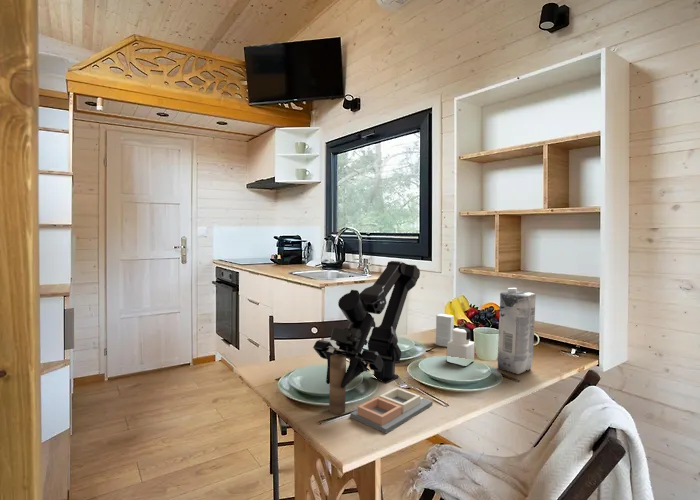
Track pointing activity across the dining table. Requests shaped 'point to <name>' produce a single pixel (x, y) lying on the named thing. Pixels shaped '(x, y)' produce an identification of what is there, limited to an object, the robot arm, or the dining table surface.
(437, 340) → the skincare box
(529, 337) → the juice carton
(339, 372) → the walnut pin
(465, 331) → the medicine bottle
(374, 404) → the board
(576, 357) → the dining table surface
